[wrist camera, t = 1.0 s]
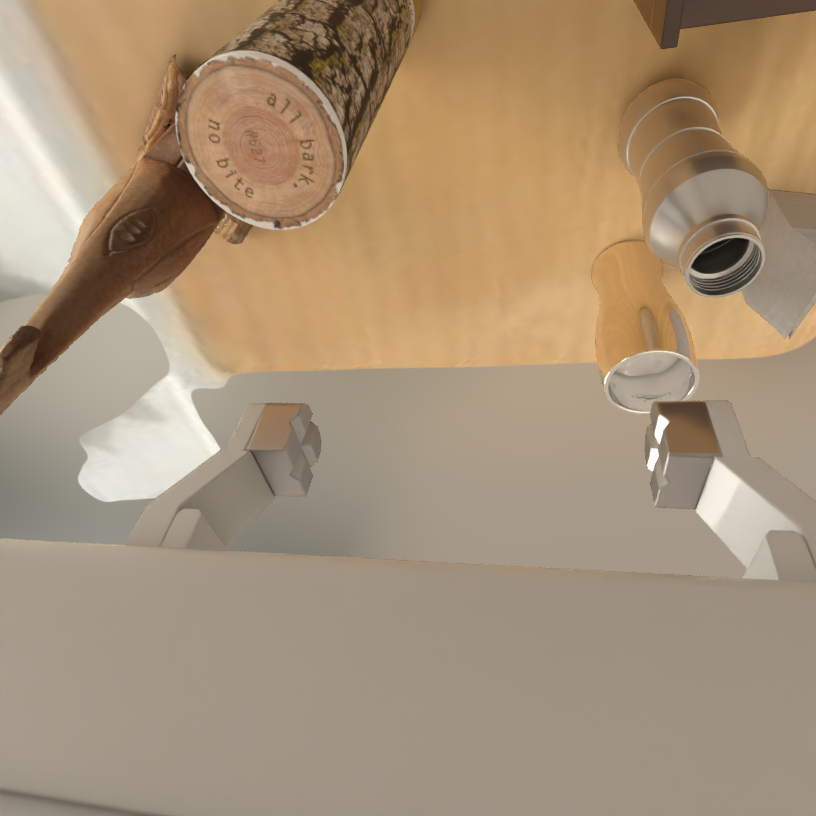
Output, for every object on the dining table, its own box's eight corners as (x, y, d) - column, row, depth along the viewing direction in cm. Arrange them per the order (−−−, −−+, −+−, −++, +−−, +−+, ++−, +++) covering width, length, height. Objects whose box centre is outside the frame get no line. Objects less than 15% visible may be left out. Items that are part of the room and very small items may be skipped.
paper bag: (728, 263, 50) (760, 336, 43) (768, 189, 45) (811, 258, 38) (771, 268, 49) (811, 342, 43) (816, 194, 44) (868, 264, 38)
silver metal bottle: (597, 148, 44) (629, 301, 31) (646, 54, 39) (709, 186, 26) (672, 174, 45) (736, 335, 31) (729, 85, 40) (835, 229, 26)
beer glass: (626, 313, 55) (649, 429, 45) (570, 278, 53) (580, 390, 43) (685, 261, 50) (725, 377, 40) (625, 220, 48) (652, 332, 38)
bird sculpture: (303, 140, 47) (114, 429, 25) (249, 239, 55) (70, 524, 33) (174, 48, 43) (-177, 294, 22) (136, 167, 51) (-150, 438, 29)
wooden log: (419, -67, 36) (327, 49, 19) (425, 54, 41) (356, 230, 24) (317, -59, 37) (146, 58, 20) (335, 58, 42) (208, 230, 25)
